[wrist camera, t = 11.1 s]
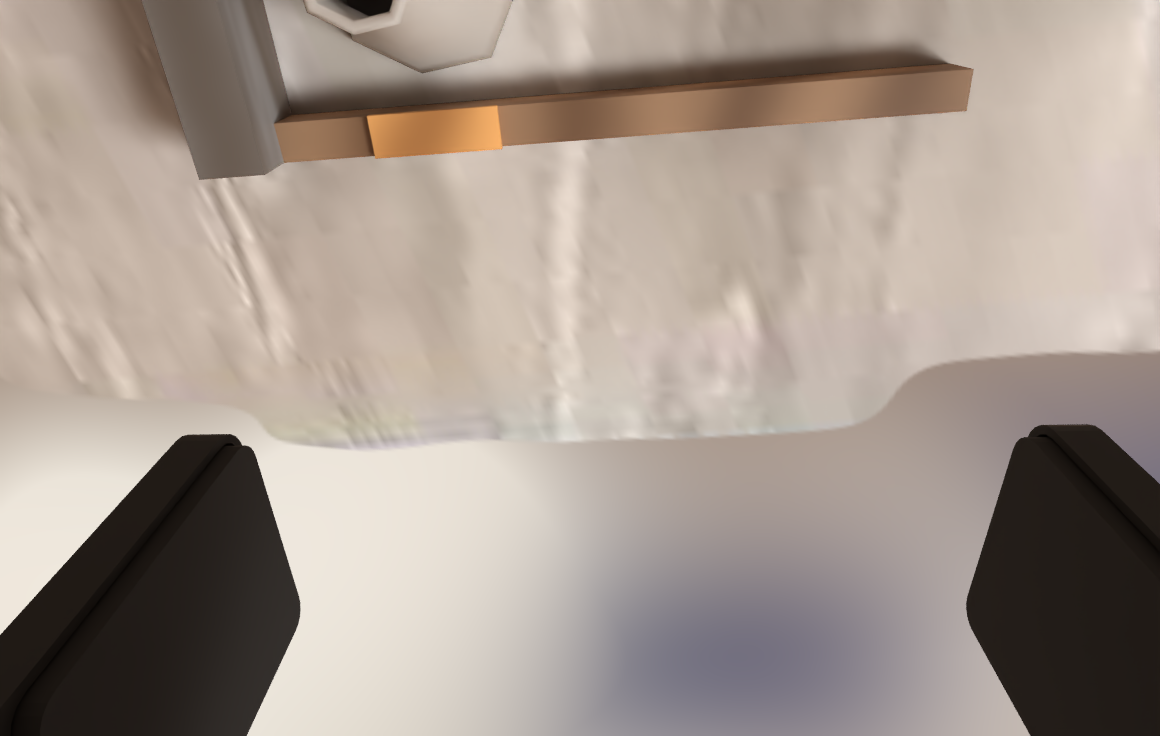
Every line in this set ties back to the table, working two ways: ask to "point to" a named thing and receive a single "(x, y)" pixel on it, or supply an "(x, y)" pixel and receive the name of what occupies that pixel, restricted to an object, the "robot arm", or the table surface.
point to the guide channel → (477, 102)
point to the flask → (419, 28)
